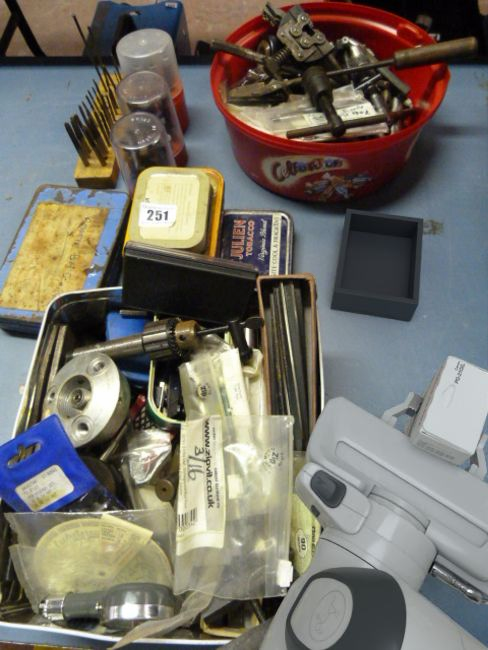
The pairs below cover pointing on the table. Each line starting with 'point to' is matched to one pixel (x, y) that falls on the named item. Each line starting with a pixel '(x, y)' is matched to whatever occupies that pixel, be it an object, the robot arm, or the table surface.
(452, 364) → the ink box
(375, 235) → the tub
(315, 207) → the table surface
